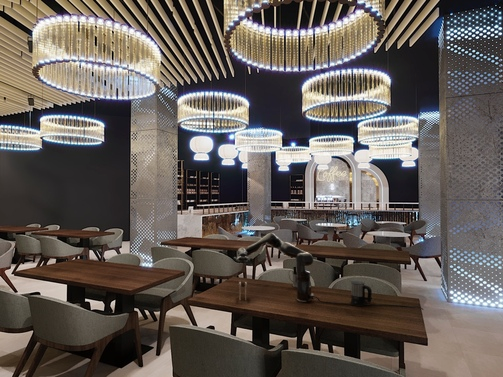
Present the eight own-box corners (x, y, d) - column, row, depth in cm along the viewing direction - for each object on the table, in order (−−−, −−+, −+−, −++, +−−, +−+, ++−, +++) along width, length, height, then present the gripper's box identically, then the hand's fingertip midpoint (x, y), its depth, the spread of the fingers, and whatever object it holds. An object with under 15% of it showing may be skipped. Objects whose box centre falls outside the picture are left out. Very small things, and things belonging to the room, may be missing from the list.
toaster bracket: (237, 298, 235) (237, 280, 236) (248, 298, 236) (248, 280, 236) (236, 303, 225) (237, 284, 226) (248, 303, 226) (248, 284, 226)
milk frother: (350, 305, 223) (350, 283, 224) (351, 298, 238) (351, 277, 238) (372, 307, 218) (372, 285, 219) (372, 300, 233) (372, 279, 234)
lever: (239, 286, 241) (239, 283, 241) (246, 286, 241) (246, 283, 241) (239, 286, 229) (239, 283, 230) (246, 286, 229) (246, 283, 230)
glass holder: (305, 286, 269) (305, 267, 270) (292, 288, 261) (292, 269, 262) (298, 283, 277) (298, 265, 277) (285, 286, 269) (285, 267, 269)
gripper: (234, 252, 267) (233, 255, 251) (251, 252, 268) (252, 256, 252) (234, 261, 267) (233, 265, 251) (251, 261, 268) (252, 265, 251)
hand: (243, 260), depth 251 cm, fingers open, 8 cm apart
